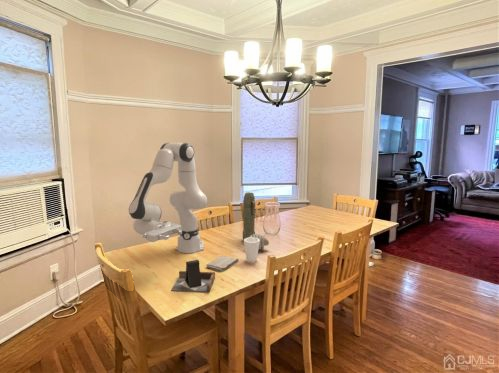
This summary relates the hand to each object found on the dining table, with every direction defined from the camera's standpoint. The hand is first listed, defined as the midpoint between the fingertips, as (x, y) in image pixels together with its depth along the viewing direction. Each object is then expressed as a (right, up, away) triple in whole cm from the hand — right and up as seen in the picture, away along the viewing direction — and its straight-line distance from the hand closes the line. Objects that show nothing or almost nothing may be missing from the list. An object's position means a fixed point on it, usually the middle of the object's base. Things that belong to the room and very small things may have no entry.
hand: (174, 235), depth 163 cm
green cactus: (+38, -14, +63) cm, 75 cm away
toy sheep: (+43, -17, +46) cm, 66 cm away
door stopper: (+10, -24, -2) cm, 26 cm away
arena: (+10, -25, -2) cm, 27 cm away
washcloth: (+23, -22, +23) cm, 39 cm away
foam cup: (+40, -20, +30) cm, 54 cm away
